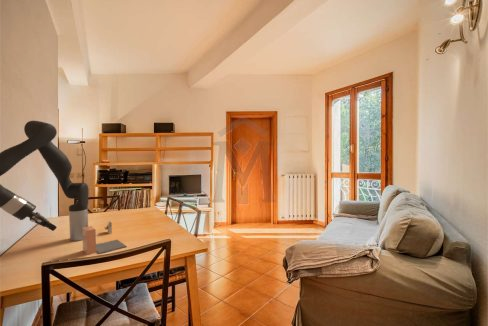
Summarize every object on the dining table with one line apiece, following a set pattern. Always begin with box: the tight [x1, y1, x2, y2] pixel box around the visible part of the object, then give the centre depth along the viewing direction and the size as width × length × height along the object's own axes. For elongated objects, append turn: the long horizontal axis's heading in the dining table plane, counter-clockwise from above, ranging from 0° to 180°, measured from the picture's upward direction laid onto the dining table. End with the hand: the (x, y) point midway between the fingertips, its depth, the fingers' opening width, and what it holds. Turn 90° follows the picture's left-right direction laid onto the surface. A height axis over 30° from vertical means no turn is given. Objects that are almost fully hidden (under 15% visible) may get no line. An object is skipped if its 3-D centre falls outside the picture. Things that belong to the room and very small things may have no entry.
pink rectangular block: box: [82, 225, 97, 256], centre depth 125 cm, size 8×4×12 cm, turn 45°
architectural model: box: [103, 220, 113, 235], centre depth 156 cm, size 3×7×7 cm, turn 37°
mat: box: [96, 239, 127, 255], centre depth 132 cm, size 15×13×1 cm
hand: (54, 228), depth 115 cm, fingers closed
